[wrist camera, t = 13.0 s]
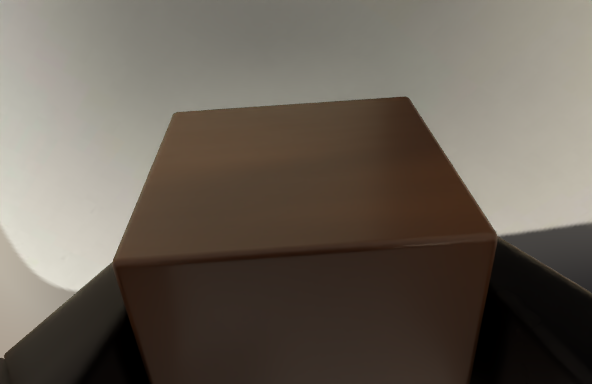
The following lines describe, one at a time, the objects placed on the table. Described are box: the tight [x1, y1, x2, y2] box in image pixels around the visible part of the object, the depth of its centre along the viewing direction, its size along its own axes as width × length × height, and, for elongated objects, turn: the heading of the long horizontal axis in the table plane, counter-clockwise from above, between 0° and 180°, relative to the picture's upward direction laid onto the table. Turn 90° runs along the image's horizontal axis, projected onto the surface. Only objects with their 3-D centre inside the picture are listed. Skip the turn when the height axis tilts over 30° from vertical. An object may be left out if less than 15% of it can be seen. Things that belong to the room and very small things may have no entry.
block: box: [112, 97, 498, 384], centre depth 8 cm, size 4×4×4 cm
